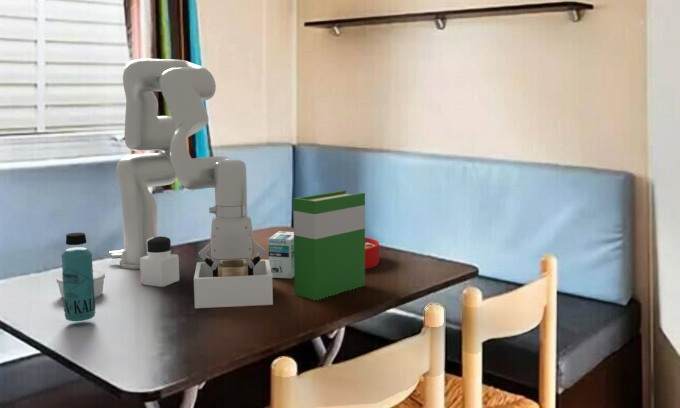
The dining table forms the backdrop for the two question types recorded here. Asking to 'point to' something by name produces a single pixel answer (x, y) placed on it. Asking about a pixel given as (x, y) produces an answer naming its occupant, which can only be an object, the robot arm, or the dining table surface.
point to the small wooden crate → (232, 268)
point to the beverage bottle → (78, 280)
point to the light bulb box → (281, 254)
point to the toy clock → (371, 253)
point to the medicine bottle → (159, 263)
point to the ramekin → (97, 278)
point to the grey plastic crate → (233, 287)
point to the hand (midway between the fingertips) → (233, 283)
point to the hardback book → (329, 244)
